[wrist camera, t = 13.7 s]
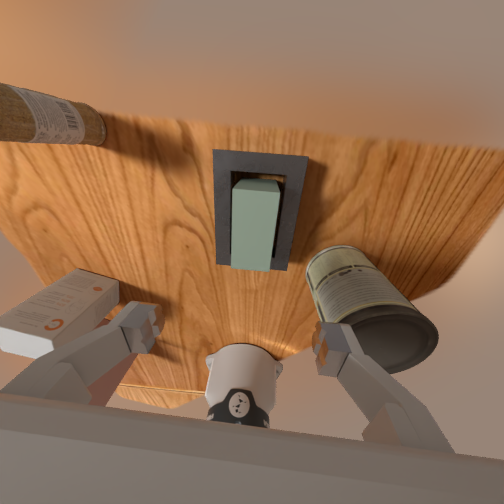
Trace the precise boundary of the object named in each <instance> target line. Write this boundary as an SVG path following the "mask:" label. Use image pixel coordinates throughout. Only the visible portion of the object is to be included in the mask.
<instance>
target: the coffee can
mask: <svg viewBox="0 0 504 504" xmlns="http://www.w3.org/2000/svg"><path fill="white" fill-rule="evenodd" d="M306 280H307V282H308V284H309V287H310V290H311V293H312V296H313V299H314V302H315V306H316V309H317V312H318V315H319V318H320V321H321V322H332V323H341V324H349V325H350V326H351V328H352V330H353V332H354V334H355V336H356V338H357V340H358V342H359V344H360V346H361V348H362V350H363V352H364V354H365V355H368V356H369V357H370V358H372V359H373V360H374V361H375V362H376V363H377V364H378V365H380V366H381V367H382V368H383V369H384V370H385V371H386V372H387V373H389V374H393V373H397V372H401V371H404V370H407V369H409V368H411V367H414V366H415V365H417V364H419V363H420V362H422V361H424V360H425V359H426V358H427V357H428V356H429V355H430V354H431V353H432V352H433V351H434V349H435V348H436V346H437V344H438V339H439V337H438V336H439V335H438V331H437V329H436V327H435V326H434V324H433V323H432V322H431V321H430V320H429V319H428V318H427V317H425V316H424V315H423V314H421V313H420V312H419V311H418V310H417V309H416V308H415V307H414V305H413V304H412V303H411V302H410V301H409V300H408V299H407V298H406V297H405V296H404V295H403V294H402V293H401V292H400V291H399V290H398V289H397V288H396V287H395V286H394V285H393V284H392V283H391V282H390V281H389V280H388V279H387V278H386V277H385V276H384V275H383V274H382V273H381V272H380V271H379V269H378V268H377V267H376V266H375V265H374V264H373V263H372V262H371V261H370V260H369V259H368V258H367V257H366V256H365V254H364V253H363V252H362V251H360V250H359V249H357V248H355V247H352V246H347V245H337V246H332V247H329V248H326V249H324V250H322V251H320V252H319V253H317V254H316V255H315V256H314V257H313V258H312V259H311V261H310V262H309V264H308V266H307V269H306Z"/></svg>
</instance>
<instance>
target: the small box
mask: <svg viewBox="0 0 504 504" xmlns="http://www.w3.org/2000/svg"><path fill="white" fill-rule="evenodd" d="M118 303H119V281H118V280H115V279H111V278H108V277H104V276H101V275H97V274H94V273H91V272H87V271H84V270H80V269H75V270H74V271H72V272H70V273H69V274H67V275H65V276H64V277H62V278H61V279H59V280H57V281H56V282H54V283H53V284H51V285H49V286H48V287H46V288H45V289H43V290H42V291H40V292H38V293H37V294H35V295H33V296H32V297H30V298H29V299H27V300H25V301H24V302H22V303H20V304H19V305H18V306H16V307H14V308H12V309H11V310H9V311H8V312H6V313H4V314H3V315H1V316H0V348H1V349H2V351H5V352H9V353H13V354H17V355H22V356H26V357H30V358H34V359H37V358H39V357H41V356H43V355H45V354H47V353H49V352H51V351H53V350H55V349H57V348H59V347H61V346H63V345H65V344H67V343H69V342H71V341H73V340H75V339H77V338H79V337H81V336H83V335H85V334H87V333H89V332H91V331H92V330H93V329H94V328H95V327H96V326H97V325H98V324H99V323H100V322H101V321H102V320H103V319H104V318H105V317H106V316H107V315H108V314H109V312H110V311H111V310H112V309H113V308H114V307H115V306H116V305H117V304H118Z"/></svg>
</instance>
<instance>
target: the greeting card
mask: <svg viewBox="0 0 504 504" xmlns="http://www.w3.org/2000/svg"><path fill="white" fill-rule="evenodd" d="M109 323H110V321H109V320H107V319H103V320H102V321H101V322H100V323H99V324H98V325H97V326H96V327H95V328H94V329H93V330H95V329H97V328H99V327H101V326H103V325H108V324H109ZM93 330H92V331H93ZM137 355H138V353H131V354H130V355H128V356H127V357H126V358H124V359H123V360H122V361H121V362H119V363H118V364H117V365H115V366H114V367H113V368H111V369H110V370H109V371H108V372H106V373H105V374H104V375H102V376H101V377H100V378H99V379H97V380H96V381H95V382H93V383H92V384H91V385H89V386H88V387H87V388H88V390H89V391H90V393H91V394H92V399H91V401H90V402H89V403H88V404H89V405H97V406H104V407H105V405H106V404H107V402H108V401H109V399H110V398H111V396H112V394H113V393H114V391H115V390H116V388H117V386H118V385H119V383H120V382H121V380H122V379H123V377H124V375H125V374H126V372H127V371H128V369H129V368H130V366H131V364H132V363H133V361H134V360H135V358H136V356H137Z"/></svg>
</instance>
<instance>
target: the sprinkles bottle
mask: <svg viewBox="0 0 504 504" xmlns="http://www.w3.org/2000/svg"><path fill="white" fill-rule="evenodd" d="M105 138H106V127H105V124H104V122H103V120H102V118H101V116H100V115H99V114H98V112H97V111H96V110H95V109H93V108H92V107H90V106H89V105H87V104H85V103H79V102H77V103H76V102H72V101H69V100H65V99H61V98H57V97H55V96H52V95H48V94H44V93H41V92H37V91H33V90H29V89H25V88H19V87H15V86H11V85H7V84H3V83H0V141H8V142H9V141H12V142H21V143H48V144H72V145H73V144H88V145H93V146H97V145H100V144H102V143H103V142H104V140H105Z"/></svg>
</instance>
